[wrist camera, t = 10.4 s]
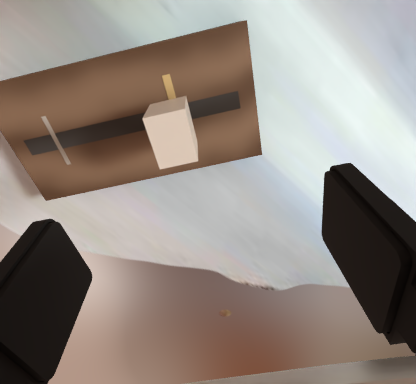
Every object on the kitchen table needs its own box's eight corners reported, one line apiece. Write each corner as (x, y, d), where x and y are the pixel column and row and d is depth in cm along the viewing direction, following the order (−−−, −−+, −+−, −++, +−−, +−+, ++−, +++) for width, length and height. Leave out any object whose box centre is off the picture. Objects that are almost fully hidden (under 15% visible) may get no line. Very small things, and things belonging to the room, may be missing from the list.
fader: (153, 97, 24) (142, 118, 18) (186, 89, 24) (184, 108, 18) (166, 138, 26) (159, 169, 20) (197, 132, 26) (198, 161, 20)
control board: (-5, 82, 26) (-28, 88, 23) (241, 21, 24) (246, 20, 22) (57, 186, 32) (45, 201, 29) (256, 143, 30) (262, 154, 28)
